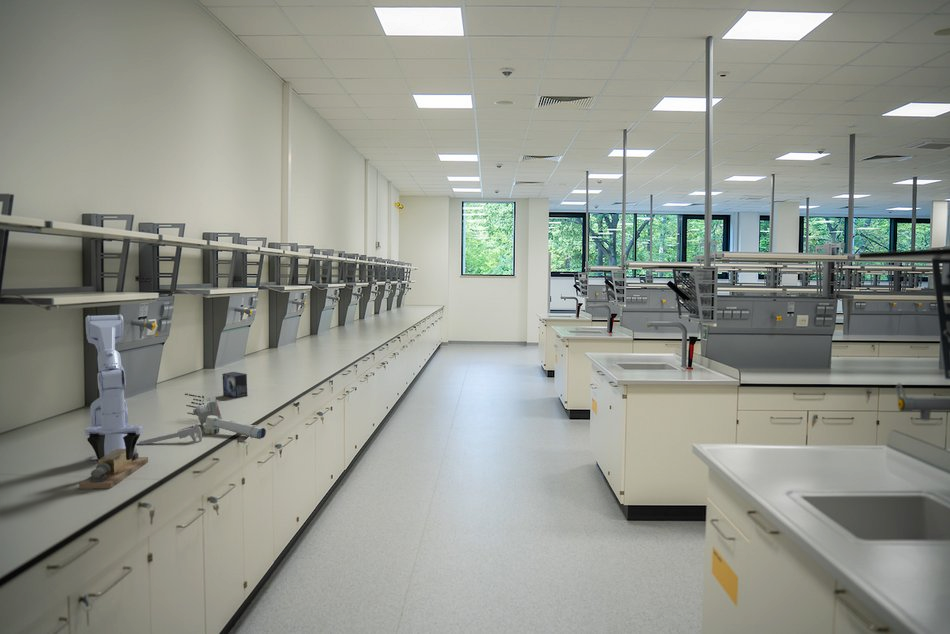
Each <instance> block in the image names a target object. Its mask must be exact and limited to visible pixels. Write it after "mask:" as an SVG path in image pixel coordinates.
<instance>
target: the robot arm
mask: <svg viewBox="0 0 950 634" xmlns="http://www.w3.org/2000/svg"><path fill="white" fill-rule="evenodd" d="M124 332H125V324H124V316H123V315H122V314H121V313H120V314H112V315H111V314H107V315H87V316H86V317H85V334H86V340H87V342H88V343H89V344H92V345H94V347H95V348H96V350H97V358H96V359H97V369H98V372H97V388H98V391H99V397H98V398H97V399H95V400H94V401H93V402H92V403H91V404H90V411H89V412H90V416H89V417H90V426H89V427H85V428H84V435H85V436H86V437H87V436H88V437H87V438H86V440H87V442H88V443H89V444H90V446H91V447H92V449H93V451H94V453H95V455H94V456H93V457H91V461H95V460H97V461H98V460H99V459H100V458H102V457H104V456H105V455H107V454H109V453H110V452H112V451H114V450H116V449H125V448H126V459H127V460H130V459H132V457H133V452H134V448H136V446H137V445H136V444H137V443H138V439H140V436H141V434H142V433H143V426H142V425H129V424H128V423H129V413H128V411H129V409H128V404H127V401H126V400H125V389H126V386H127V385H126V371H125V369H124V366H122V359H121V357H122V356H121V353H120V352H119V351H117V350H116V344H117V343H119V342H121V341H122V340H123V337H124Z"/></svg>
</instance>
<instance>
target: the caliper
mask: <svg viewBox="0 0 950 634" xmlns="http://www.w3.org/2000/svg"><path fill="white" fill-rule="evenodd" d="M200 426H201V425H200ZM200 426H199V425H198V423H196V424H195V425H194V423H193V424H192V427H189V428H185V429H181V430H178V431H177V432H173V433H169V434H164V435H159V436H154V437H150V438H145V439H142V440H139V442H136V444H138V445H140V444H143V445H149V444H153V443H157V442H162V441H166V440H170V439H171V440H172V439H176V438H179V439H183V438H184V439H186V438H187V437H189V436H190V438H191V439H192V441H193V442H194V441H196V442H197V437H198V439H199V442H201V441H202V440H203V435H202V434H203V431H202V428H201V427H200ZM195 434H197V437H196V435H195Z"/></svg>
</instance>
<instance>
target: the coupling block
mask: <svg viewBox="0 0 950 634" xmlns="http://www.w3.org/2000/svg"><path fill="white" fill-rule="evenodd" d="M97 461H98V465H99V464H100V463H107V464H108V465H109V466H110V469H111V470H110V473H109V474H108V475H115V474H117V473H118V472H120V471H121V470H123V469H124V468H126V467H127V466H129V465H130V464H132V459H130V460H127V459H126V449H116V450H114V451H112V452H110V453H109V454H107V455H105V456H104V457H102V458H100V459H99V460H97Z"/></svg>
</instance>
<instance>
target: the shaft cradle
mask: <svg viewBox="0 0 950 634" xmlns="http://www.w3.org/2000/svg"><path fill="white" fill-rule="evenodd" d="M125 449H126V448H125ZM148 462H149V457H148V456H144V457H142V456H141V457H140V456H139V452H138V449H137V448H136V447H135V448H134V452H133V457H132V464H130V465H129V466H127V467H126V468H124V469H123V470H121V471H120V472H118V473H117V474H115V475H108V474H109V473H110V470H111V469H110V466H109V465H108V464H107V463H100V464H99V463H98V464H97V466H95V469H93V470H91V473H90V476H89V477H88V478H86V479H84V480H82V481H81V482H79V485H78V487H79V490H91V489H92V490H93V488H97V489H112V488H113V487H115V486H116V485H118V484H119V483H120V481H121V480H122V481H124V480H125V479H126V478H128V477H129V476H130V475H132V474H133V473H135V472H136V471H138V470H139V469H140V468H142V467H143V466H144V465H146V464H147V463H148ZM127 476H128V477H127ZM124 478H125V479H124ZM122 481H121V482H122ZM117 483H118V484H117ZM114 485H115V486H114ZM111 487H112V488H111Z"/></svg>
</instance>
